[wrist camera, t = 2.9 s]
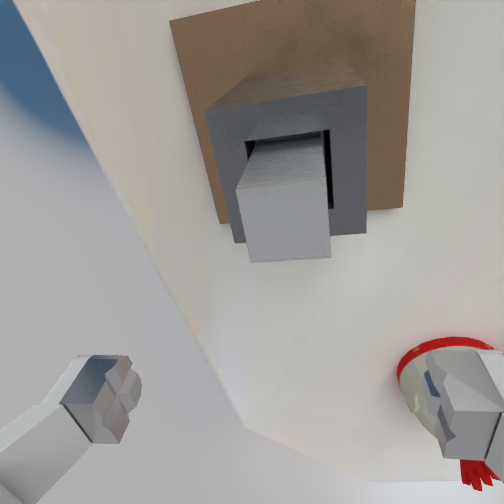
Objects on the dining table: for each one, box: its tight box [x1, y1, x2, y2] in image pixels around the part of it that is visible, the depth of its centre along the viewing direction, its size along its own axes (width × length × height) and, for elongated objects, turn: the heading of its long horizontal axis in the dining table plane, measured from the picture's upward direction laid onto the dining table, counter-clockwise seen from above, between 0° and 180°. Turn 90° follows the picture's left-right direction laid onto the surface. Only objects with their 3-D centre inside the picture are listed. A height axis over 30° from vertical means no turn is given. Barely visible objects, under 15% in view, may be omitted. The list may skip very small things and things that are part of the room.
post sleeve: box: [169, 0, 416, 243], centre depth 28 cm, size 20×20×16 cm
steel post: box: [236, 130, 331, 263], centre depth 24 cm, size 4×4×20 cm
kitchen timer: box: [397, 337, 500, 491], centre depth 44 cm, size 14×14×15 cm
